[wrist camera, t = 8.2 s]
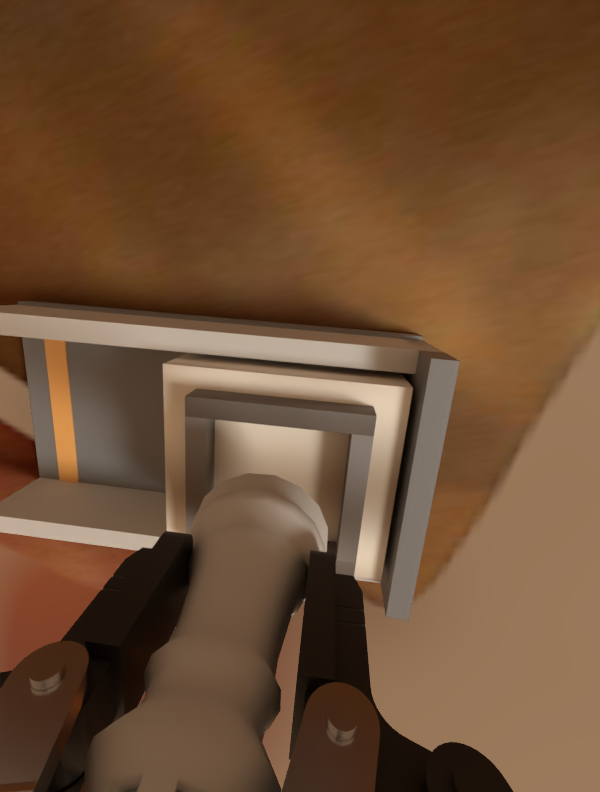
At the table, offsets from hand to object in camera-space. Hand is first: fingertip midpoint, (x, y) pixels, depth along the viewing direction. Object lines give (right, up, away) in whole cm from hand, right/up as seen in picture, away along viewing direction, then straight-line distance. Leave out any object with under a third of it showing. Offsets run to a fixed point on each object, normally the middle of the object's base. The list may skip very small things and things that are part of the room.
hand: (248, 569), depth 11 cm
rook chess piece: (0, +1, +2) cm, 2 cm away
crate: (+1, +3, +10) cm, 11 cm away
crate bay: (-4, +4, +12) cm, 13 cm away
